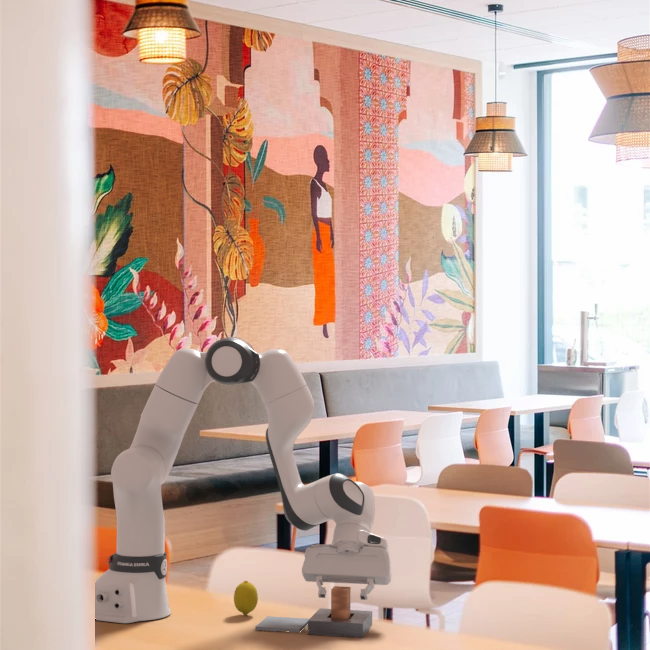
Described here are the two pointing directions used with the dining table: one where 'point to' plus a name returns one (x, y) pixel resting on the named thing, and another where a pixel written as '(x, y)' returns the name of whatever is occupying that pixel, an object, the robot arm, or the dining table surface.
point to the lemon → (245, 597)
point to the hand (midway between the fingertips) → (342, 597)
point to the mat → (282, 624)
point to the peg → (340, 602)
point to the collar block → (340, 624)
